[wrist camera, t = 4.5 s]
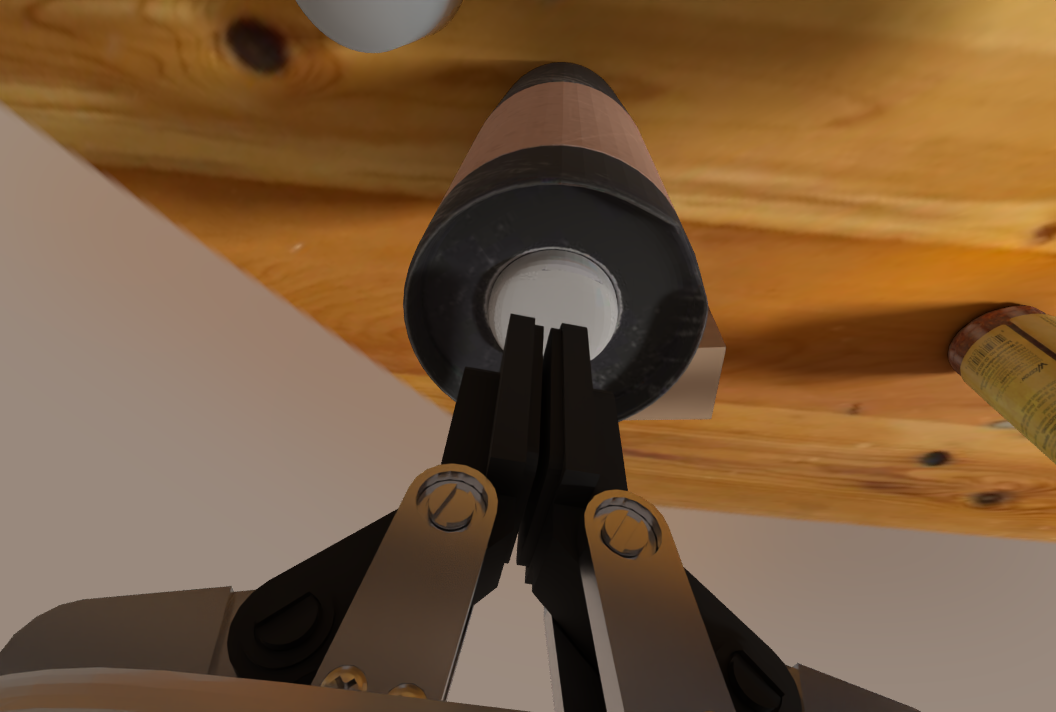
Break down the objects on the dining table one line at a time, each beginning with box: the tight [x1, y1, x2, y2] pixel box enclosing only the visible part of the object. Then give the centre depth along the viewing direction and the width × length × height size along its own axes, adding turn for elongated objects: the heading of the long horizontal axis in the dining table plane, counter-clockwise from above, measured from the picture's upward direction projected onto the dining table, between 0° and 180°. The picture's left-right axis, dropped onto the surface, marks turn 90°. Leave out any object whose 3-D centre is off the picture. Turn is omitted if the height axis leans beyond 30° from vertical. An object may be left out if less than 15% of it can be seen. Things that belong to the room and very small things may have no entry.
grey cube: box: [625, 307, 726, 420], centre depth 33 cm, size 6×6×6 cm
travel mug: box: [403, 62, 708, 422], centre depth 20 cm, size 8×8×20 cm
